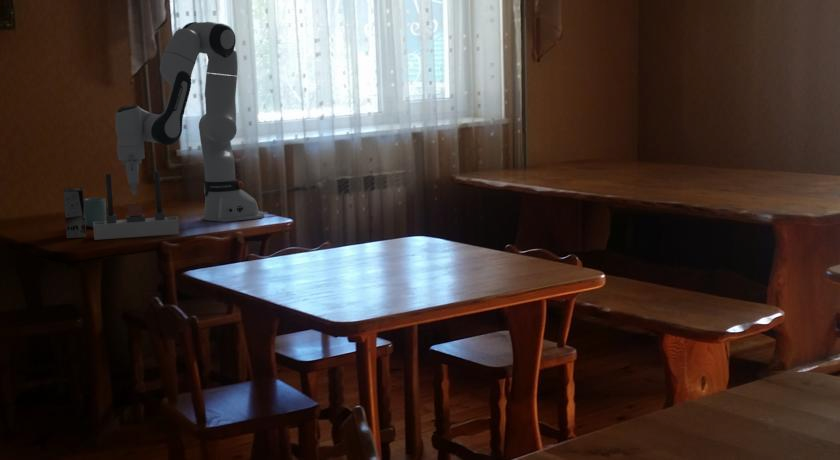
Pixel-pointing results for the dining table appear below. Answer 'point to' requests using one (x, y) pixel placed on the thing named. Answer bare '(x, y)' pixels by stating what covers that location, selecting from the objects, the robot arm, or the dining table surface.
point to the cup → (94, 210)
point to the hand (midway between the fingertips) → (134, 194)
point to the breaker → (135, 210)
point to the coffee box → (74, 212)
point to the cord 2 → (158, 198)
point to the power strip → (135, 227)
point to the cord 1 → (110, 201)
